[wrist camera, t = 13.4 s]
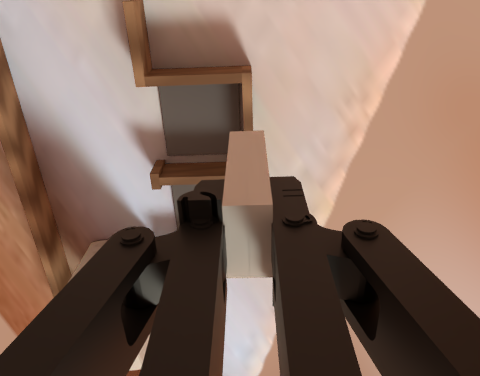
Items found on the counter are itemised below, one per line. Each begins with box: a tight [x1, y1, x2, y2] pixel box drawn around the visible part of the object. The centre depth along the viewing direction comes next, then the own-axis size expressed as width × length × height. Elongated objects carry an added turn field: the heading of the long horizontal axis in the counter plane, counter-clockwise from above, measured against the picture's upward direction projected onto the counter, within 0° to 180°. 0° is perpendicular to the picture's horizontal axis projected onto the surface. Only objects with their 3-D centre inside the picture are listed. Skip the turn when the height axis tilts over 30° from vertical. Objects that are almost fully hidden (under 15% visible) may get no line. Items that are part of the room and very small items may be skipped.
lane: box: [0, 0, 253, 297], centre depth 48 cm, size 42×28×4 cm
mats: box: [158, 83, 240, 230], centre depth 49 cm, size 21×9×1 cm, turn 2°
